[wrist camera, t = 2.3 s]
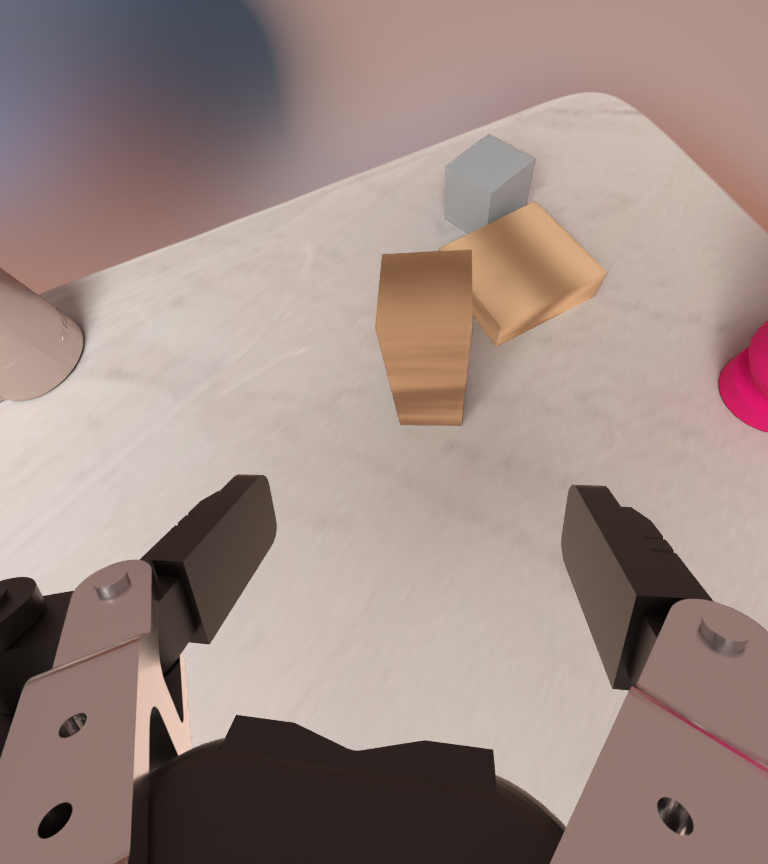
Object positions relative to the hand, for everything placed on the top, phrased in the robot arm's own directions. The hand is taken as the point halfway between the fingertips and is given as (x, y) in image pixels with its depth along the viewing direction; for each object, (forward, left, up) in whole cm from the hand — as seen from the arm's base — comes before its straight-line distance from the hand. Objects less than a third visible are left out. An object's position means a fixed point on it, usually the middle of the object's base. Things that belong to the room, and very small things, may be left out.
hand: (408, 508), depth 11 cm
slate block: (+19, +24, -17) cm, 35 cm away
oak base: (+17, +16, -17) cm, 29 cm away
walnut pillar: (+6, +10, -17) cm, 20 cm away
